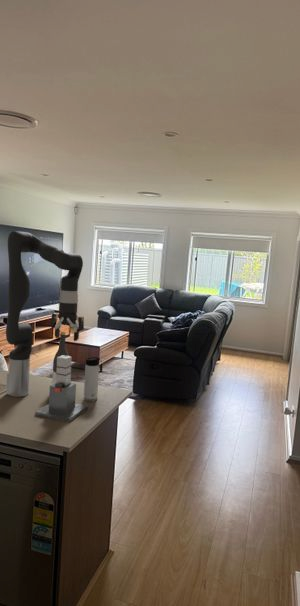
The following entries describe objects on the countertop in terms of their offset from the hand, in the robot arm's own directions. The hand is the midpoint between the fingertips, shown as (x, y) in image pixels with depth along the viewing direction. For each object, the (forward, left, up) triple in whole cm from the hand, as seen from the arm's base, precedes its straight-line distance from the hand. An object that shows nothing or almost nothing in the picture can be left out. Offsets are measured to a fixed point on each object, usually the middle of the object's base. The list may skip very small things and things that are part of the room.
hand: (66, 339), depth 175 cm
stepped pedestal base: (+1, -2, -31) cm, 31 cm away
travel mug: (+5, +18, -31) cm, 36 cm away
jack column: (+1, -2, -25) cm, 25 cm away
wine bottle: (-12, +20, -31) cm, 39 cm away
